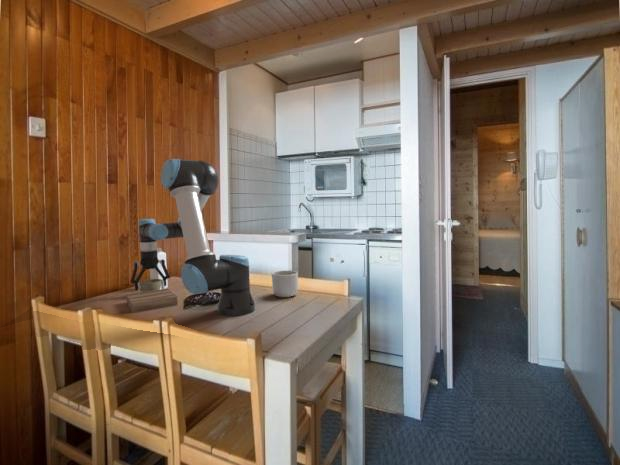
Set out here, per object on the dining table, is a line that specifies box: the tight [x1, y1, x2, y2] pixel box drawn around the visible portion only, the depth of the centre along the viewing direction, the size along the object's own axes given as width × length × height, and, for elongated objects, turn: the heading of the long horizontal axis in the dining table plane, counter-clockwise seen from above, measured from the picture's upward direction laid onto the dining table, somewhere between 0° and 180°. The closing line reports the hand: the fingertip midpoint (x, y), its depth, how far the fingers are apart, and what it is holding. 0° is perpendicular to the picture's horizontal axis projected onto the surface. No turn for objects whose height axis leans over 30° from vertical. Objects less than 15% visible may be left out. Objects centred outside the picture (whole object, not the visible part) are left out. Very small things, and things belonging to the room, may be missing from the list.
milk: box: [149, 247, 169, 290], centre depth 187 cm, size 6×6×22 cm
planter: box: [271, 270, 299, 298], centre depth 167 cm, size 12×12×11 cm
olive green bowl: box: [139, 279, 162, 292], centre depth 174 cm, size 10×10×7 cm
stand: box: [126, 288, 178, 314], centre depth 158 cm, size 18×18×4 cm
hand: (151, 294), depth 175 cm, fingers open, 10 cm apart
